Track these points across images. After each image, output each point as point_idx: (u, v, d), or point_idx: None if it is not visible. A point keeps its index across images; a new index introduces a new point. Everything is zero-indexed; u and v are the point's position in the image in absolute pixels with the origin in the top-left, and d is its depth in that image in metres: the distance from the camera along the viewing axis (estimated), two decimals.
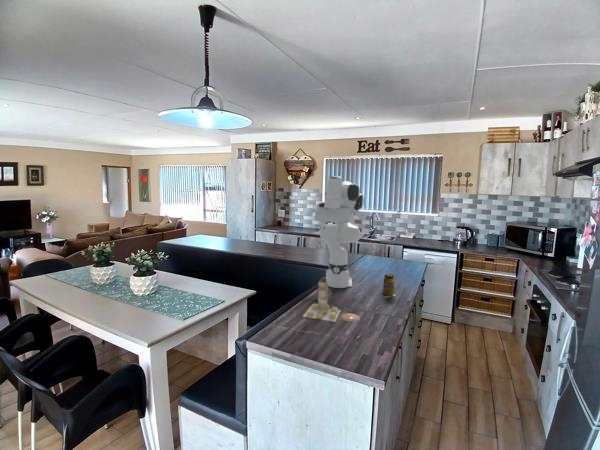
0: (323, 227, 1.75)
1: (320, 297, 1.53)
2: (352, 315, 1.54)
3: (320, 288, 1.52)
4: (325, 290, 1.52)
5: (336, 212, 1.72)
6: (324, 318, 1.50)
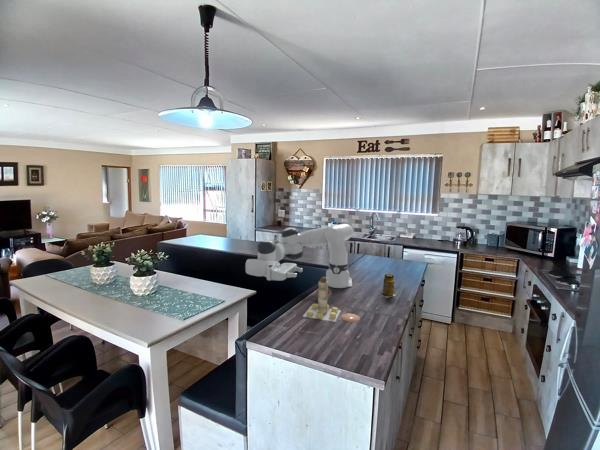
0: (294, 273, 1.53)
1: (320, 297, 1.53)
2: (352, 315, 1.54)
3: (320, 288, 1.52)
4: (325, 290, 1.52)
5: (282, 266, 1.62)
6: (324, 318, 1.50)
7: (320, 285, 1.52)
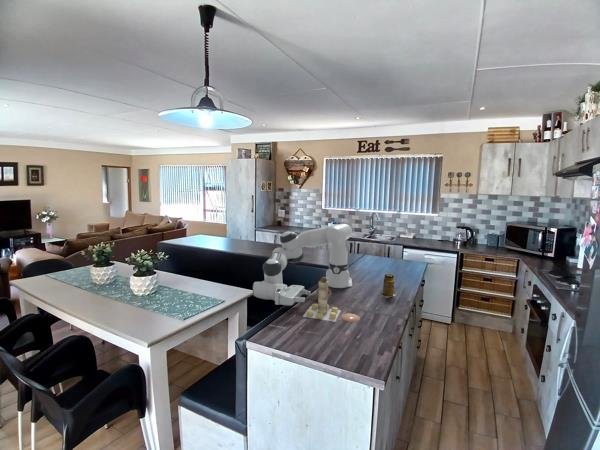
0: (302, 297, 1.53)
1: (320, 297, 1.53)
2: (352, 315, 1.54)
3: (320, 288, 1.52)
4: (325, 290, 1.52)
5: (290, 289, 1.62)
6: (324, 318, 1.50)
7: (320, 285, 1.52)
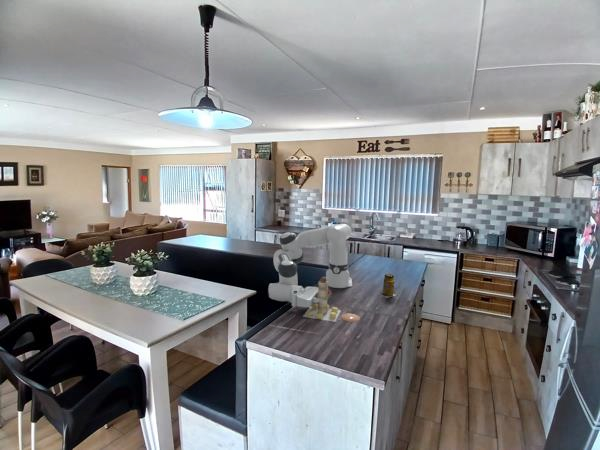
0: (320, 298, 1.52)
1: (320, 297, 1.53)
2: (352, 315, 1.54)
3: (320, 288, 1.52)
4: (325, 290, 1.52)
5: (306, 290, 1.60)
6: (324, 318, 1.50)
7: (320, 285, 1.52)
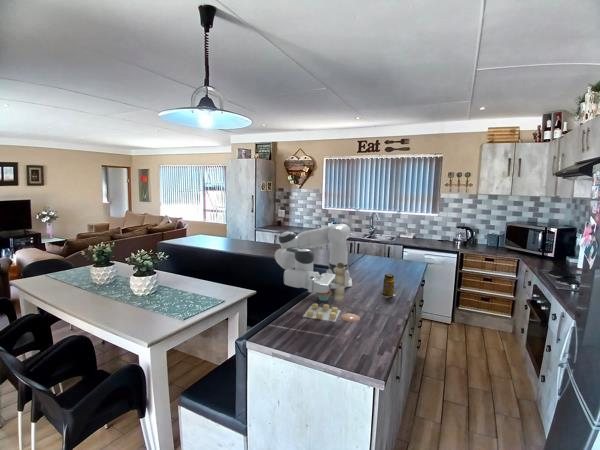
0: (338, 284, 1.48)
1: (337, 283, 1.48)
2: (352, 315, 1.54)
3: (337, 274, 1.48)
4: (342, 276, 1.48)
5: (322, 276, 1.55)
6: (324, 318, 1.50)
7: (337, 270, 1.48)
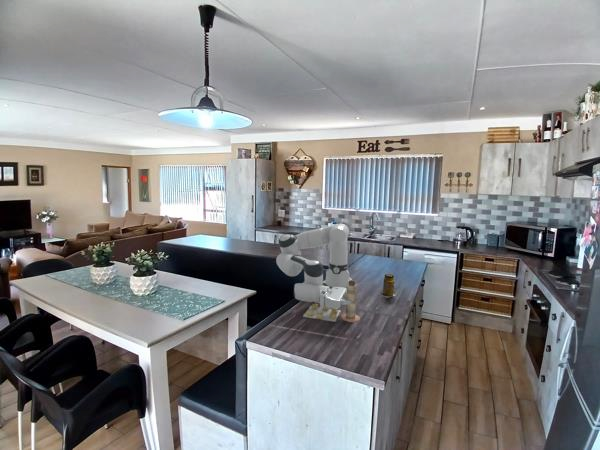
0: (349, 300, 1.46)
1: None
2: None
3: (349, 291, 1.48)
4: (354, 293, 1.48)
5: (333, 291, 1.55)
6: (324, 318, 1.50)
7: (349, 288, 1.48)
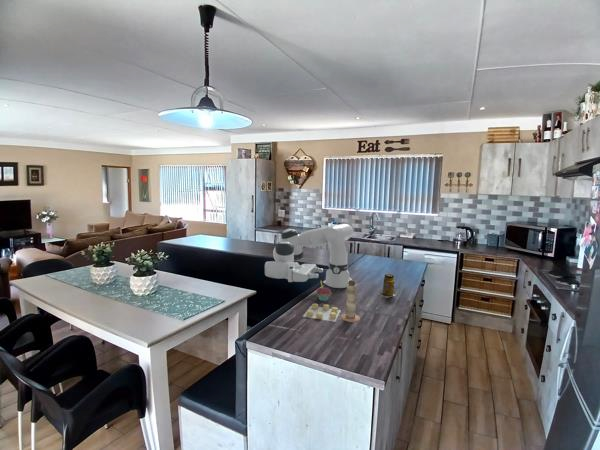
0: None
1: (348, 301, 1.49)
2: None
3: (348, 291, 1.48)
4: (354, 293, 1.48)
5: (302, 267, 1.60)
6: (324, 318, 1.50)
7: (349, 288, 1.48)
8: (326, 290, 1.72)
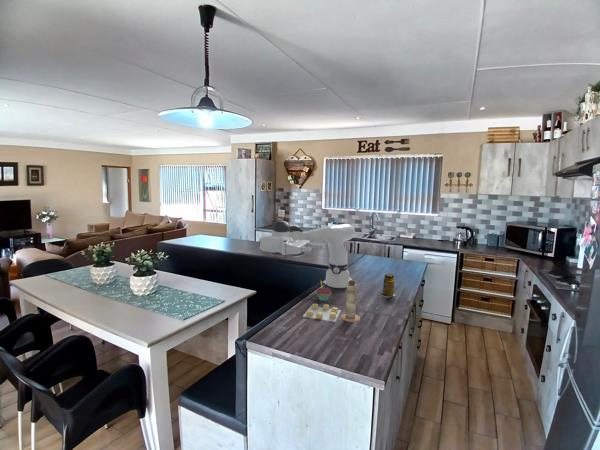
0: (308, 247, 1.55)
1: (348, 301, 1.49)
2: None
3: (348, 291, 1.48)
4: (354, 293, 1.48)
5: (296, 242, 1.64)
6: (324, 318, 1.50)
7: (349, 288, 1.48)
8: (326, 290, 1.72)
